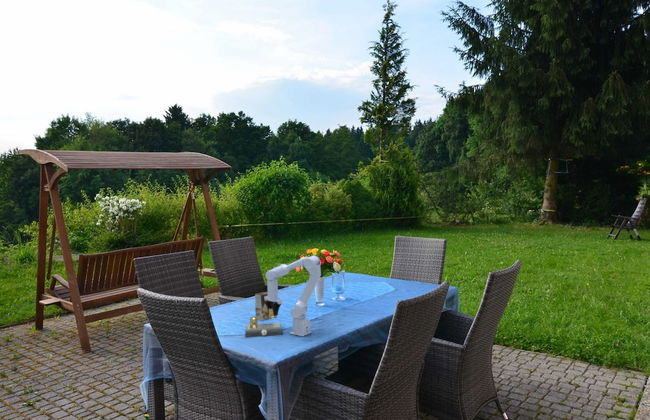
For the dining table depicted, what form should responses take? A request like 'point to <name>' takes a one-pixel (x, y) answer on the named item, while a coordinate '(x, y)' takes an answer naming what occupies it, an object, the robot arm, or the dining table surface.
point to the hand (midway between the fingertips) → (273, 314)
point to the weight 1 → (253, 322)
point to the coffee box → (261, 306)
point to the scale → (264, 330)
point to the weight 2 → (271, 313)
